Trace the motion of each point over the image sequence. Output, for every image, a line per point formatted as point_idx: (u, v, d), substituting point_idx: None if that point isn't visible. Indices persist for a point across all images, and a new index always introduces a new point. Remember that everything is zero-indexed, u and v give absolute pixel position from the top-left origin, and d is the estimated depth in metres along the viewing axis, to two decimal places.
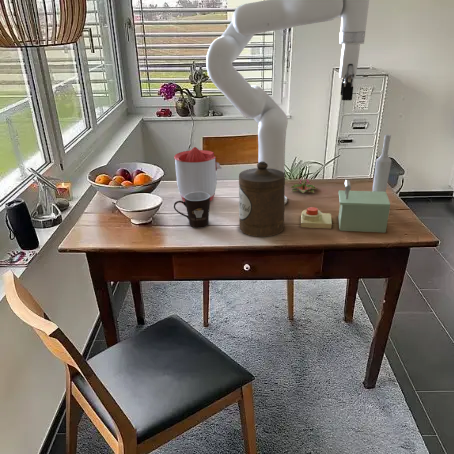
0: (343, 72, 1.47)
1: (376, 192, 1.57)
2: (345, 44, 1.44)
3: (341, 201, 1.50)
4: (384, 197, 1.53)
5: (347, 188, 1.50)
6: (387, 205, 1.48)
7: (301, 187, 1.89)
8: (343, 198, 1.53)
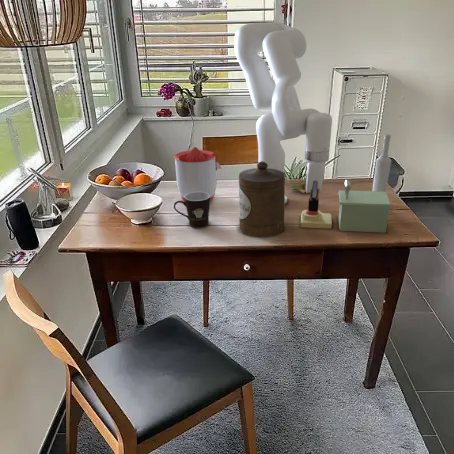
0: (308, 188, 1.50)
1: (376, 192, 1.57)
2: (309, 162, 1.47)
3: (341, 201, 1.50)
4: (384, 197, 1.53)
5: (347, 188, 1.50)
6: (387, 205, 1.48)
7: (301, 187, 1.89)
8: (343, 198, 1.53)
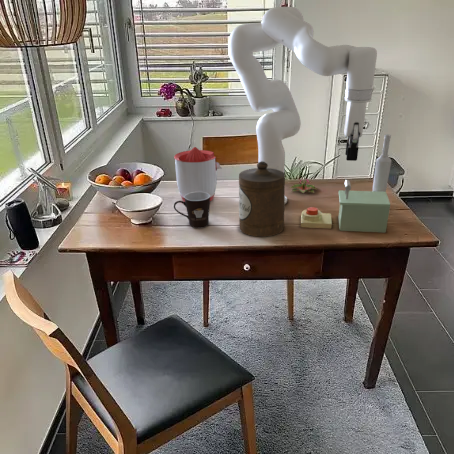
0: (349, 130, 1.39)
1: (376, 192, 1.57)
2: (351, 102, 1.36)
3: (341, 201, 1.50)
4: (384, 197, 1.53)
5: (347, 188, 1.50)
6: (387, 205, 1.48)
7: (301, 187, 1.89)
8: (343, 198, 1.53)
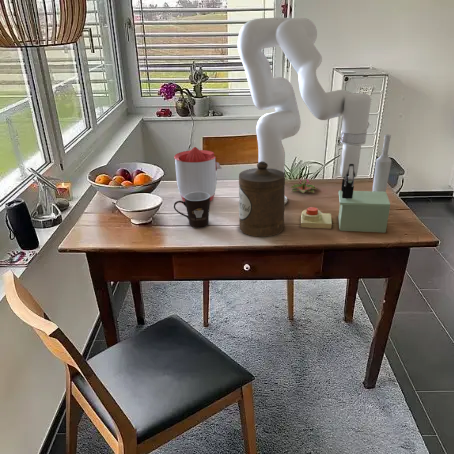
0: (344, 171, 1.45)
1: (376, 192, 1.57)
2: (346, 145, 1.42)
3: (341, 201, 1.50)
4: (384, 197, 1.53)
5: None
6: (387, 205, 1.48)
7: (301, 187, 1.89)
8: (343, 198, 1.53)
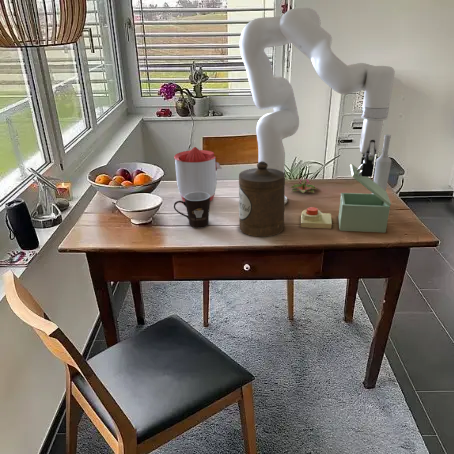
0: (365, 148, 1.41)
1: (379, 187, 1.56)
2: (367, 120, 1.38)
3: (354, 174, 1.45)
4: (386, 195, 1.52)
5: None
6: (388, 203, 1.48)
7: (301, 187, 1.89)
8: (356, 173, 1.48)
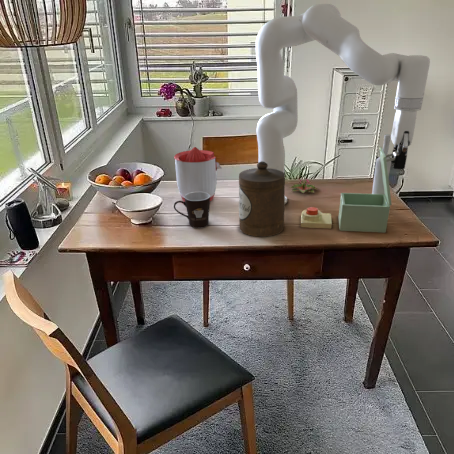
0: (398, 139, 1.38)
1: None
2: (401, 110, 1.35)
3: (385, 157, 1.41)
4: None
5: None
6: (390, 202, 1.47)
7: (301, 187, 1.89)
8: None
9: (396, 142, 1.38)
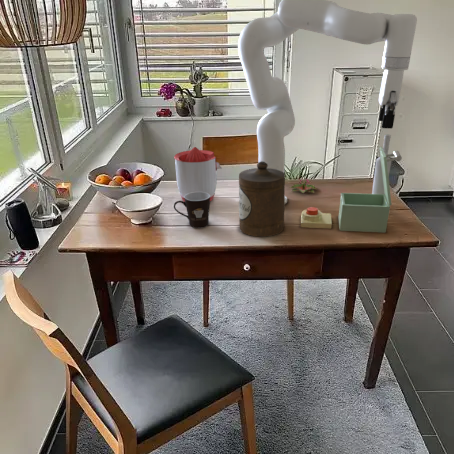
0: (385, 99, 1.39)
1: None
2: (388, 70, 1.36)
3: (386, 157, 1.41)
4: None
5: (398, 157, 1.43)
6: (390, 202, 1.47)
7: (301, 187, 1.89)
8: None
9: (383, 102, 1.39)
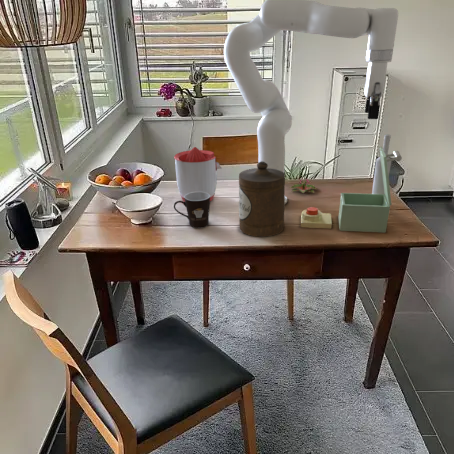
0: (370, 90, 1.43)
1: None
2: (372, 62, 1.41)
3: (386, 157, 1.41)
4: None
5: (398, 157, 1.43)
6: (390, 202, 1.47)
7: (301, 187, 1.89)
8: None
9: (368, 94, 1.44)
